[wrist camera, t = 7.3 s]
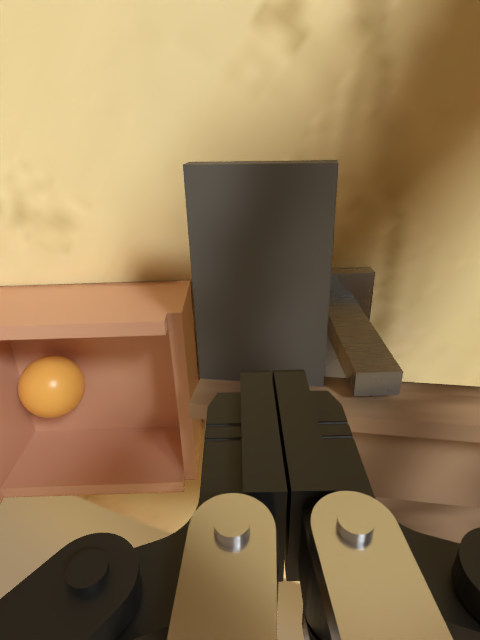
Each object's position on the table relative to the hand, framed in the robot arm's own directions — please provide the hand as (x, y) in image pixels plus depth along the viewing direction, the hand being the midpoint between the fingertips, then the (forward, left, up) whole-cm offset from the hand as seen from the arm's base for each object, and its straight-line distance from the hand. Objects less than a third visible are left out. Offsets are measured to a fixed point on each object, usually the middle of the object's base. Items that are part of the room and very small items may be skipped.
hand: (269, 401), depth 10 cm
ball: (+9, -13, -15) cm, 22 cm away
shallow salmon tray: (+9, -10, -18) cm, 22 cm away
